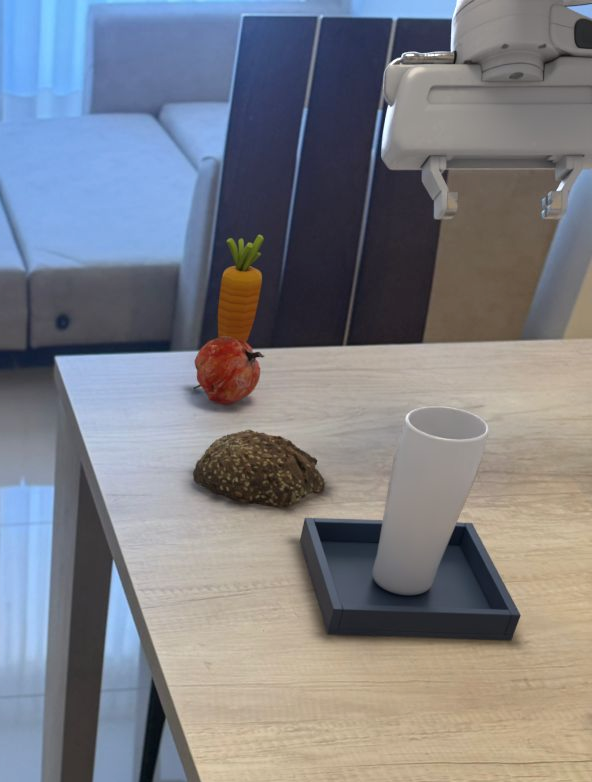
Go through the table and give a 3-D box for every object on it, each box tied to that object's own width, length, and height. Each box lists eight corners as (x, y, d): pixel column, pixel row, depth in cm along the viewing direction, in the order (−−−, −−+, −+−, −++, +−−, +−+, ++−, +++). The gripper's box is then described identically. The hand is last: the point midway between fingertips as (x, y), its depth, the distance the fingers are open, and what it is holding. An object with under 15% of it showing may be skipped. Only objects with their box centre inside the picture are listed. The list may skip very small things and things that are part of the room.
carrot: (201, 367, 141) (219, 236, 130) (219, 354, 144) (238, 225, 133) (238, 377, 139) (259, 244, 128) (256, 364, 142) (277, 233, 131)
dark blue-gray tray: (464, 547, 110) (472, 522, 108) (511, 640, 98) (521, 615, 96) (299, 541, 110) (304, 517, 108) (327, 634, 98) (333, 609, 97)
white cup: (417, 611, 100) (467, 449, 90) (348, 583, 103) (389, 423, 93) (453, 581, 104) (505, 422, 94) (385, 554, 107) (428, 397, 97)
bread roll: (175, 485, 118) (181, 439, 115) (233, 442, 125) (240, 398, 122) (289, 523, 112) (299, 476, 109) (343, 476, 120) (353, 431, 116)
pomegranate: (180, 422, 134) (242, 392, 126) (163, 359, 133) (225, 325, 125) (224, 412, 138) (287, 383, 130) (208, 351, 137) (270, 318, 129)
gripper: (396, 31, 97) (392, 200, 98) (641, 29, 97) (635, 199, 97) (373, 73, 103) (369, 232, 104) (603, 72, 103) (597, 231, 104)
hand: (499, 216), depth 101 cm, fingers open, 8 cm apart
